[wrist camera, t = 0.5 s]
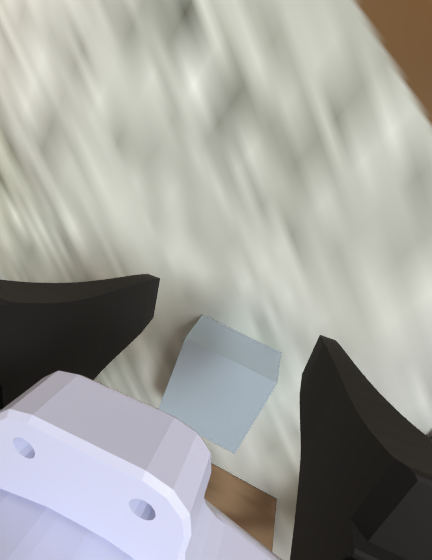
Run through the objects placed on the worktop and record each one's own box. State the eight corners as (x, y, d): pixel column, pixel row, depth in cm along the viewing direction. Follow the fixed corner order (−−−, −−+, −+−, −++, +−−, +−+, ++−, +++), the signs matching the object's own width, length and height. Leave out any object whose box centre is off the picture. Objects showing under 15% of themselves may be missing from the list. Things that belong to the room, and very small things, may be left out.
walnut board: (276, 499, 28) (268, 593, 22) (264, 514, 29) (253, 607, 23) (103, 404, 31) (52, 463, 24) (99, 422, 32) (49, 483, 26)
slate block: (281, 350, 23) (277, 383, 19) (244, 415, 26) (234, 453, 22) (203, 313, 24) (185, 337, 20) (176, 380, 27) (157, 412, 23)
